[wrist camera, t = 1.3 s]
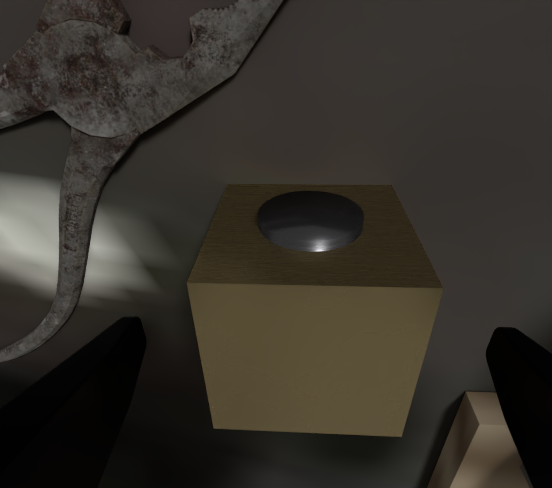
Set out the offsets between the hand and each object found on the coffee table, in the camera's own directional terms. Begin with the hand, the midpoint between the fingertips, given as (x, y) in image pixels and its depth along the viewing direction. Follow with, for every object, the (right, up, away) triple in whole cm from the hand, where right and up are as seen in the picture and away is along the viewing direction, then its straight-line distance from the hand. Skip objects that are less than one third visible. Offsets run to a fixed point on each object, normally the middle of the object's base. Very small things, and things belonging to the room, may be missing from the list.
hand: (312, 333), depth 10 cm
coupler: (0, +2, +3) cm, 4 cm away
